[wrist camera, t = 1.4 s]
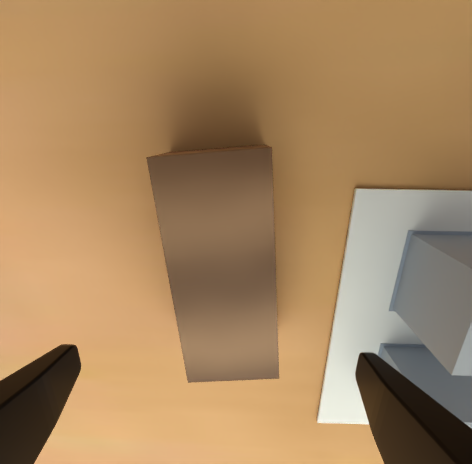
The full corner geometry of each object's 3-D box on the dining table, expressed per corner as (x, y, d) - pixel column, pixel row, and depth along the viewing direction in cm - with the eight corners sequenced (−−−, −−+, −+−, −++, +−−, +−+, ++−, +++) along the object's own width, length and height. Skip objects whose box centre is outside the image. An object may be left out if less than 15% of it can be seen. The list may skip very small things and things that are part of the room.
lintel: (271, 328, 18) (279, 378, 15) (198, 332, 19) (187, 382, 15) (263, 144, 14) (271, 147, 11) (171, 151, 15) (146, 157, 11)
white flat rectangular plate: (473, 424, 21) (476, 428, 20) (316, 420, 21) (317, 423, 21) (577, 192, 15) (583, 193, 14) (354, 188, 15) (356, 189, 14)
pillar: (438, 403, 20) (501, 487, 15) (369, 401, 20) (410, 484, 15) (459, 348, 18) (536, 424, 13) (383, 346, 18) (433, 421, 13)
